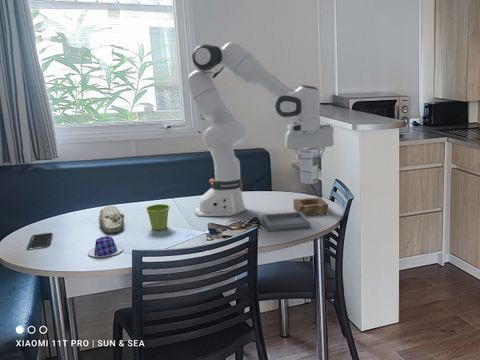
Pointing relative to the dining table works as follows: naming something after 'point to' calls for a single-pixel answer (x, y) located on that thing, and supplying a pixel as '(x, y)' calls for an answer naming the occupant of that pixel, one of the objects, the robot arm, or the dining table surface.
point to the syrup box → (309, 165)
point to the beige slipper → (111, 219)
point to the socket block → (311, 206)
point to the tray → (286, 221)
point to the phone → (40, 240)
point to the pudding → (105, 247)
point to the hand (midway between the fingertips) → (309, 158)
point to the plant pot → (158, 216)
